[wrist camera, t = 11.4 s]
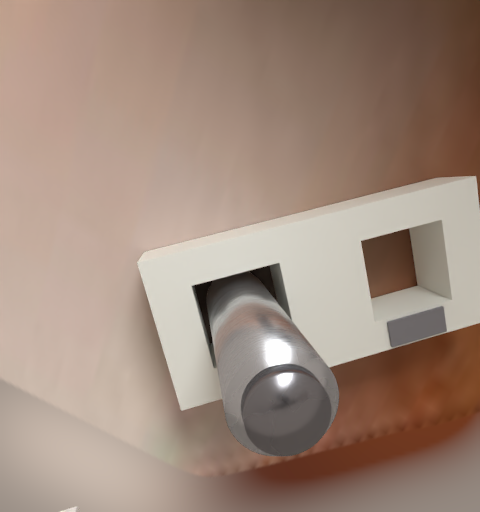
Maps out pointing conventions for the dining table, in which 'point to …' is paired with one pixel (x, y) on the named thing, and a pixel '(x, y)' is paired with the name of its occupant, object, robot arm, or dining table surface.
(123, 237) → the dining table surface
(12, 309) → the dining table surface
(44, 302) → the dining table surface
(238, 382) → the plug
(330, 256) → the socket board
